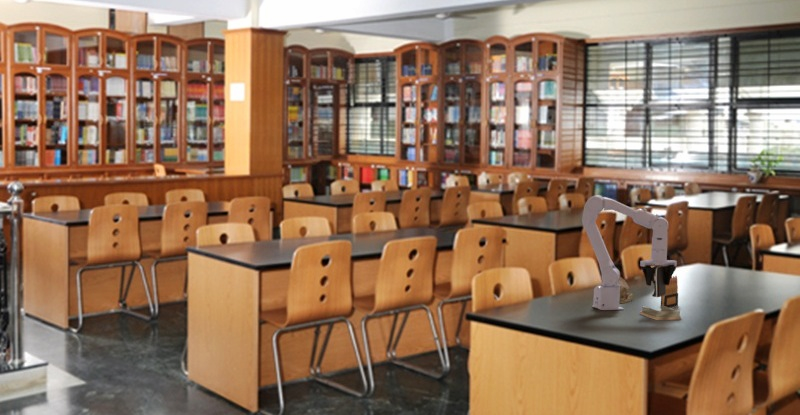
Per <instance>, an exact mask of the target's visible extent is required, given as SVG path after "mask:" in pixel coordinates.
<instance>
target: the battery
mask: <svg viewBox="0 0 800 415" xmlns="http://www.w3.org/2000/svg"><path fill="white" fill-rule="evenodd" d="M651 268H653V273H652V281H651V282H652V283H653V286H654V291H653V293H652V294H651V296H652V297H654V298H661V296H663V295H665V294H666V285H665V282H666V275H665V267H664V266H651Z"/></svg>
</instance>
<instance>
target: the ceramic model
mask: <svg viewBox="0 0 800 415" xmlns="http://www.w3.org/2000/svg"><path fill="white" fill-rule="evenodd" d="M618 283H619V284H620V299H619V304H625V303H628V302H632V300H633V297H634V294H633V293H632V292H629V290H630V287H629V284H628V283H627V282H626V280H625V279H624V278H623V277H621V276H620V278H619V280H618Z"/></svg>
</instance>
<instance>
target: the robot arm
mask: <svg viewBox="0 0 800 415" xmlns="http://www.w3.org/2000/svg"><path fill="white" fill-rule="evenodd" d="M583 206H584V208H583V213H582V218H581V223H582V226H583V228H584V230H585V233H586V235H587V237H588V240H589V242H590V245H591V248H592V249H593V250H592V251H593V252H594V254H595V257H596V259H597V262H598V264H599V270H600V273H601V283H600V285H596V286H595V287H594V288H593V300H592V304H593V305H592V307H593V308H595V309H598V310H600V311H614V310H615V311H617V310H620V311H621V310H624V307H622V306H620V303H619V299H620V284H619V283H618V280H619V278H620V277H621V272H620V270H619V269H618V268H617V267H616V266H615V264H614V262H613V260H612V259H611V256H610V254H609V251H608V250H607V246H606V243H605V242H604V240H603V236H602V234H601V232H600V229H599V227H598V225H597V222H596V221H597V219H598V216H599V214H600V213H601V212H602V211H603V210H604V211H614V212H617V213H620V214H622V215H625V216H626V217H629V218H631V219H632V221H633V222H634V223H635V224H637V225H640V226H642V227H645V228H647V229H651V230H652V237H651V247H650V248H651V250H650V252H651V253H650V259H647V260H640V264H639V266H640V268H641V271H642V272H643V275H644V279H645V284H646V286H652V282H653V281H652V273H653V268H652V267H655V266H664V267H665V275H666V282H665V285H669V282H670V279H671V277H672V278H673V276H674V275H673V274H674V273H675V272H676V269H677V266H678V261H677V260H671V259H670V260H669V259H668V257H667V256H668V239H669V238H668V236H669V235H668V234H669V232H668V230H669V222H668V220H667V219H666V218H665V217H663V216H660V215H659V214H657V213H656V214H654V213H652V212H650V211H648V209H647V208H643V209H642V208H638V209H634V208H631V207H630V206H627V205H626V204H624V203H621V202H619V201H617V200H615V199H613V198H610V197H606V196H604V197H603V195H601V194H596V195H595V194H594V195H592V196H591V197H588V199H587V200H586V202H585V203H584V205H583Z"/></svg>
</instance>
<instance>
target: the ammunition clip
mask: <svg viewBox="0 0 800 415" xmlns="http://www.w3.org/2000/svg"><path fill="white" fill-rule="evenodd" d="M678 287H679V286H678V277H677V275H672V277H671V279H670V282H669V285H666V294H665V295H663V296H661V297H660V307H661V306H666V307H669V308H673V307H679V306H678V305H679V293H678V290H679V289H678Z"/></svg>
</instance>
